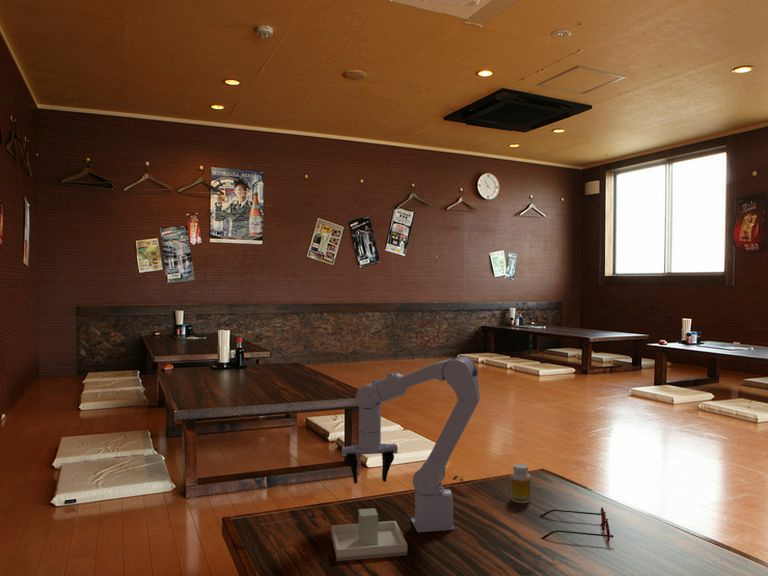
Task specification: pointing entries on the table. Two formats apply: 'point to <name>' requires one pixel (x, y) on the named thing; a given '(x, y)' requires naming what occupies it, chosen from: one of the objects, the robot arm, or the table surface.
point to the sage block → (368, 527)
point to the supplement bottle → (520, 484)
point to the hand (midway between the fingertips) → (369, 481)
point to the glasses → (585, 533)
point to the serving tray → (388, 545)
